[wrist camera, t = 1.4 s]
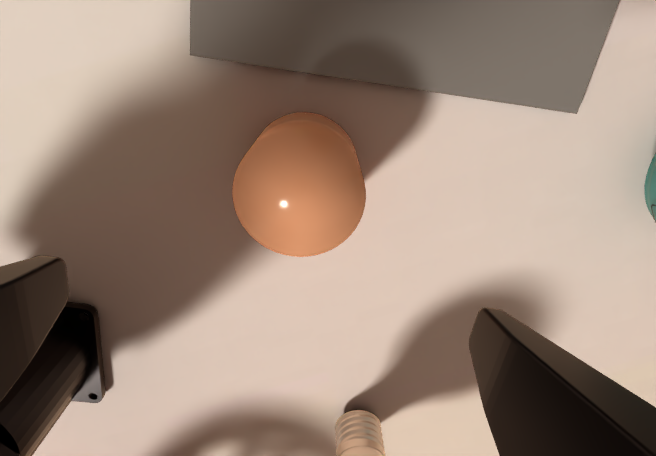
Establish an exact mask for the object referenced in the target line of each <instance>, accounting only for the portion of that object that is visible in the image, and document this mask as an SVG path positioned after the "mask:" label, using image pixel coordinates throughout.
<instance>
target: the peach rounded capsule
mask: <svg viewBox="0 0 656 456" xmlns="http://www.w3.org/2000/svg"><path fill="white" fill-rule="evenodd" d="M232 196H233V203H234V208H235V211H236V214H237V216H238V218H239V221H240V222H241V224H242V225H243V227H244V228H245V230H246V231H247V232H248V233H249V235H250V236H251V237H253V238H254V239H255V240H256V241H257V242H258V243H260V244H261V245H263V246H264V247H266V248H268V249H270V250H272V251H274V252H277V253H280V254H283V255H289V256H297V257H304V256H313V255H318V254H321V253H325V252H327V251H329V250H332V249H333V248H335V247H337V246H338V245H340V244H341V243H342V242H344V241H345V240H346V239H347V238H348V237H349V236H350V235H351V234H352V233H353V231H354V230H355V229H356V227H357V225H358V224H359V222H360V219H361V217H362V215H363V211H364V207H365V200H366V190H365V183H364V179H363V176H362V172H361V168H360V165H359V161H358V158H357V154H356V151H355V147H354V145H353V143H352V141H351V139H350V137H349V136H348V134H347V133H346V132H345V131H344V130H343V129H342V128H341V127H340V126H339V125H338V124H337V123H335V122H334V121H333V120H331V119H329V118H327V117H325V116H322V115H319V114H315V113H309V112H297V113H292V114H288V115H285V116H282V117H280V118H278V119H276V120H275V121H273V122H272V123H270V124H269V125H268V126H267V127H266V128H265V129H264V130H263V132H262V133H261V134H260V135H259V137H258V138H257V139H256V141H255V142H254V144H253V145H252V146H251V148H250V149H249V150H248V152H247V153H246V154H245V156H244V157H243V159H242V160H241V162H240V164H239V166H238V168H237V170H236V173H235V176H234V180H233V188H232Z"/></svg>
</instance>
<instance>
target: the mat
mask: <svg viewBox="0 0 656 456" xmlns="http://www.w3.org/2000/svg"><path fill="white" fill-rule="evenodd" d="M618 3H619V0H190V55H192V56H199V57H205V58H212V59H219V60H225V61H232V62H238V63H245V64H252V65H258V66H265V67H271V68H278V69H285V70H291V71H298V72H304V73H311V74H318V75H324V76H331V77H337V78H344V79H351V80H357V81H364V82H370V83H377V84H384V85H390V86H397V87H403V88H410V89H417V90H423V91H430V92H436V93H443V94H450V95H456V96H463V97H469V98H476V99H482V100H489V101H496V102H502V103H509V104H515V105H522V106H529V107H535V108H542V109H548V110H555V111H562V112H568V113H575V114H577V112H578V109H579V107H580V104H581V101H582V99H583V96H584V93H585V91H586V88H587V85H588V83H589V80H590V77H591V75H592V72H593V70H594V67H595V64H596V62H597V59H598V56H599V54H600V51H601V48H602V46H603V43H604V40H605V38H606V35H607V32H608V30H609V27H610V24H611V22H612V19H613V16H614V14H615V11H616V8H617V6H618Z"/></svg>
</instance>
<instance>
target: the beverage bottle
mask: <svg viewBox="0 0 656 456" xmlns="http://www.w3.org/2000/svg"><path fill="white" fill-rule="evenodd" d="M645 200H646V204H647V207H648V209H649V211H650V213H651V215H652V216H653V218H654V220H655V222H656V154H655V156H654V158H653V159H652V162H651V164H650V166H649V169H648V172H647V176H646V180H645Z"/></svg>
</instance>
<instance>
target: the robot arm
mask: <svg viewBox="0 0 656 456" xmlns="http://www.w3.org/2000/svg"><path fill="white" fill-rule="evenodd" d="M68 297H69V287H68V279H67V271H66V265H65V262H64V260H63V259H61V258H59V257H51V256H37V257H33V258H30V259H26V260H23V261H19V262H15V263H12V264H8V265H5V266H1V267H0V456H32V455H33V454H34V452H35V451H36V449H37V448H38V447H39V445H40V444H41V442H42V441H43V440H44V438H45V437H46V435H47V434H48V433H49V431H50V430H51V428H52V427H53V426H54V424H55V423H56V421H57V420H58V419H59V417H60V416H61V414H62V413H63V412H64V410H65V409H66V407H67V406H68V405H69V403H70V402H71V401H79V402H89V403H98V402H100V401H101V400H102V398H103V397H104V395H105V382H104V371H103V361H102V351H101V341H100V331H99V321H98V313H97V310H96V309H95V308H94V307H93V306H91V305H88V304H81V303H72V302H67V300H68ZM84 313H86V314H87V315H88V316H86V315H85V314H84ZM469 348H470V353H471V357H472V361H473V366H474V370H475V374H476V379H477V383H478V387H479V392H480V396H481V400H482V404H483V408H484V411H485V414H486V417H487V421H488V423H489V426H490V429H491V432H492V435H493V438H494V441H495V443H496V446H497V449H498V452H499V455H500V456H656V407H654V406H652V405H651V404H649V403H648V402H646V401H645V400H643V399H641V398H640V397H638V396H637V395H635V394H633V393H632V392H630V391H629V390H627V389H626V388H624V387H622V386H621V385H619V384H618V383H616V382H615V381H613V380H611V379H610V378H608V377H607V376H605V375H603V374H602V373H600V372H599V371H597V370H596V369H594V368H592V367H591V366H589V365H588V364H586V363H584V362H583V361H581V360H580V359H578V358H577V357H575V356H573V355H572V354H570V353H569V352H567V351H565V350H564V349H562V348H561V347H559V346H558V345H556V344H554V343H553V342H551V341H550V340H548V339H547V338H545V337H543V336H542V335H540V334H539V333H537V332H535V331H534V330H532V329H531V328H529V327H528V326H526V325H524V324H523V323H521V322H520V321H518V320H516V319H515V318H513V317H512V316H510V315H509V314H507V313H505V312H504V311H502V310H500V309H494V308H482V309H480V311H479V312H478V314H477V317H476V320H475V323H474V326H473V329H472V332H471V335H470V338H469Z"/></svg>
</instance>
